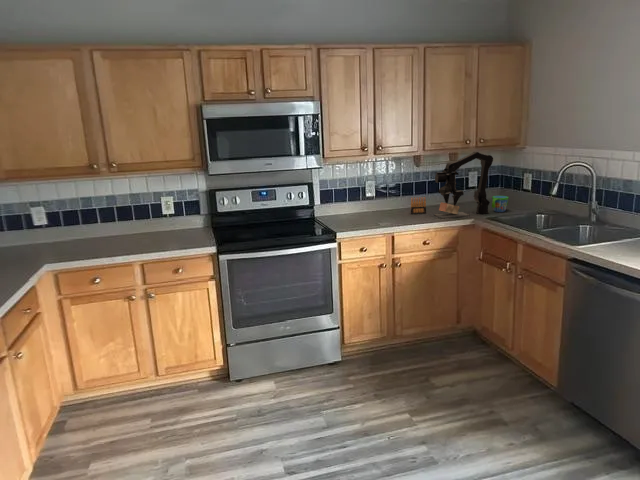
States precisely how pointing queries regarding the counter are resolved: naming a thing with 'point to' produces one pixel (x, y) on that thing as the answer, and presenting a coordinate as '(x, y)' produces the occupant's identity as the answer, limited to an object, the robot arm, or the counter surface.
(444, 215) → the rubber mat
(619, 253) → the counter surface
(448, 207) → the birch block
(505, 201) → the snack cup
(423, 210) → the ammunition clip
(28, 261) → the counter surface
